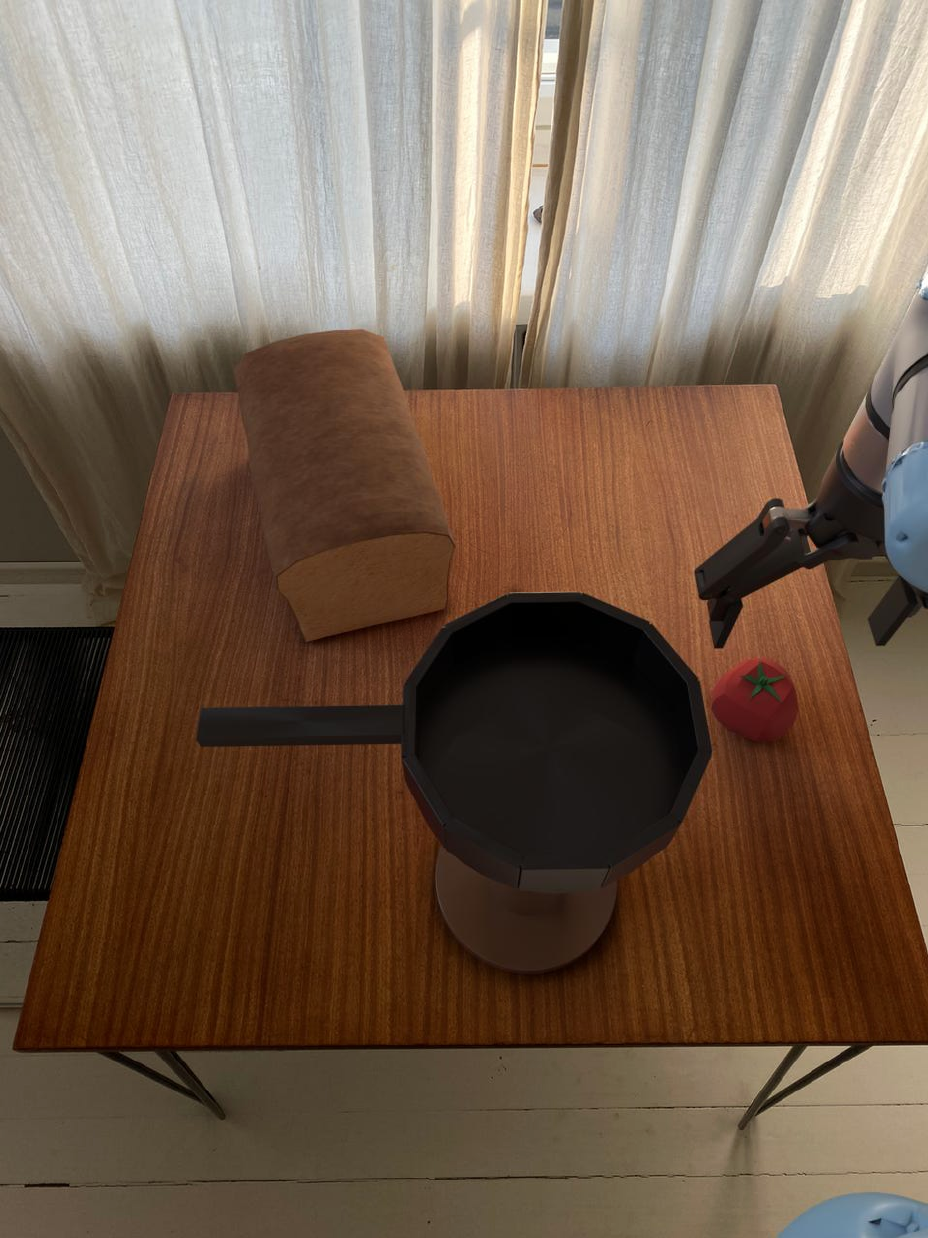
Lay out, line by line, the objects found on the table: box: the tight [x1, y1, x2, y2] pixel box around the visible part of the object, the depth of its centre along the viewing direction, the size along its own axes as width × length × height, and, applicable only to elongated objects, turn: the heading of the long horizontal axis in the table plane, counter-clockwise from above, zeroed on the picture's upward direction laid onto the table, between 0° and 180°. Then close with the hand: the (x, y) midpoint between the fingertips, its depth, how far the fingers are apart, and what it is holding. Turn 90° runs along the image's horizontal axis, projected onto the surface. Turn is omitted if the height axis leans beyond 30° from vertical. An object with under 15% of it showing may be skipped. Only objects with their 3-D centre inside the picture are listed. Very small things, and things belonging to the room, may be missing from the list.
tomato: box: [710, 657, 800, 743], centre depth 84 cm, size 8×8×7 cm
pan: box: [195, 591, 713, 975], centre depth 64 cm, size 18×29×33 cm, turn 91°
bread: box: [233, 328, 456, 643], centre depth 93 cm, size 18×30×16 cm, turn 15°
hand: (795, 633), depth 74 cm, fingers open, 13 cm apart
